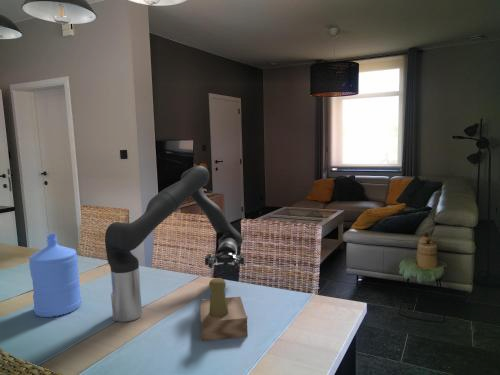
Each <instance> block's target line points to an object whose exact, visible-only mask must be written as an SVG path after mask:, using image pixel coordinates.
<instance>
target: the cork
mask: <svg viewBox="0 0 500 375" xmlns="http://www.w3.org/2000/svg"><path fill="white" fill-rule="evenodd" d="M226 286H227V283H226V281H225V279H223V278H221V277H216V278H215V277H214V278H212V279H211V280H210V281H209V284H208V287H209V290H210V297H209V299H210V310H209V315H210V316H212V317H223V316H226V315H227V314H228V308H227V302H226V298H227V296H226V293H225V289H226Z"/></svg>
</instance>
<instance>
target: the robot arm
mask: <svg viewBox="0 0 500 375" xmlns="http://www.w3.org/2000/svg"><path fill="white" fill-rule="evenodd" d="M210 177H211V176H210V172H209V170H208V169H207V168H206V166H203V165H195V166H192V167H191V168H189V169H187V170H185V171H183V173H182V174H181V176H180V180H179V181H176V182H174V183H173V184H171V185H169V186H168V187H166V188H164V189H162V190H161V191H160V192H158V193H157V194H156V195H154V196H153V197H152V198H151V199H150V200H149V201H148V203H147V205H146V207H145V212H143V213H142V215H140V217H138V218H137V219H135V220H134V221H133V222H130V223H129V222H122V221H115V222H112V223H110V224H109V225H108V227H107V228H106V231H105V234H104V246H105V247H104V248H105V253H106V259H107V263H108V265H109V268H110V276H111V278H110V280H111V286H112V287H111V290H112V291H111V294H110V298H111V299H110V300H111V311H112V312H111V313H112V321H113V322H115V321H116V322H121V323H126V322H127V323H128V322H131V321H135V320H137V319H139V318H140V317H142V315H143V307H142V294H141V278H140V264H139V258H137V257H136V256H135V255H134V254H133V253H132V251H133V250H136V249H137V248H138V247H139V246H140V245H141V244H142V243H143V242H144V241H145V240H146V239H147V237H148V236H149V235H151V233H152V232H153V231H154V230H156V228H157V227H159V226H160V225H161V224H162V222H164V221H165V220H166V219H167V218H168V217H171V215H172V214H173V213H174V212H176V211H177V210H178V209H179V207H181V206H182V205H183V204H185V202H186V201H187V200H188V199H189V198H190V197H191V198H192V199H193V200H194V202H195V203H196V204H197V206H199V208H200V209H201V210H202V212H203V213H204V214H205V216H206V218H207V220H208V221H209V223H210V225H211V226H212V229H213V230H214V231H215V232H216V233H223V232H228V233H226V234H225V235H222V236H221V237H220V238H219V239H218V242H217V243H218V249H217V251H216V253H215V254H214V255H212V254H210V253H207V255H206V256H205V257H204V266H208V268H209V269H213V267H214V265H215V266H218V265H223V266H230V265H232V266H234V269H237V268H239V266H240V265H244V266H245V254H244V253H240V254H239V255H238V254H237V253H238V248H239V247H240V246H242V245H243V241H244V240H243V235H242V234H241V233H240V232H239V231H238V230H237V229H236V228H235V227H234V226H233V224H231V223H230V221H229V219H228V218H227V216H226V215H225V213H224V211H223V210H222V209H221V207H220V206H219V205H218V204H216V203H215V202H214V201H212V200H211V199H210V198H209V197H208V196H207V195H206V194H205V192H204V191H203V189H202V188H203V187H205V186H207V184H208V183H209V181H210Z"/></svg>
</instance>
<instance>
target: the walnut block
mask: <svg viewBox="0 0 500 375" xmlns="http://www.w3.org/2000/svg"><path fill="white" fill-rule="evenodd" d="M226 302H227V308H228V314H227V315H226V316H223V317H212V316H210V315H209V310H210V298H209V299H200V300H199V307H200V308H199V310H200V328H201V330H200V331H201V333H200V334H201V342H208V341H209V342H210V341H215V340H226V339H234V338H237V339H238V338H244V337H248V336H249V335H248V317H247V313H246V310H245V307H244V303H243V301H242V297H241V296H231V297H226Z"/></svg>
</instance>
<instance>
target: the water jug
mask: <svg viewBox="0 0 500 375" xmlns="http://www.w3.org/2000/svg"><path fill="white" fill-rule="evenodd" d="M46 238H47V240H46V242H47V246H46V247H44V248H42V249H41V250H38V251H37V252H35V253H33V254H32V255H31V256H29V259H28V260H29V261H28V262H29V263H28V264H29V265H28V266H29V271H30V277H31V280H32V287H33V288H32V290H33V296H32V298H33V311H34V314H35V315H36V316H38V317H41V318H54V317H53V316H56V317H60V316H59V315H61V316H63V314H64V315H67V314H69V312H70V313H72V312H74V311H76V310H77V309H78V308H80V306H81V305H82V302H83V301H82V296H81V285H80V283H81V282H80V281H81V280H80V275H79V273H80V272H79V265H78V264H79V263H78V262H79V258H78V255H77V250H76V249H75V248H72V247H67V246H64V245H60V244H58V239H57V233H51V234H47V235H46Z"/></svg>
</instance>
